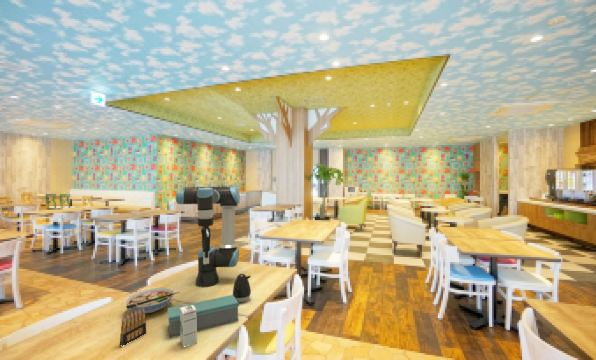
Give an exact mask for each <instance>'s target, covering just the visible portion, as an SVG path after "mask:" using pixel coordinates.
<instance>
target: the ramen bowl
mask: <svg viewBox="0 0 596 360" xmlns="http://www.w3.org/2000/svg"><path fill="white" fill-rule="evenodd" d="M176 294H180V292H179V291H178V292H175V291H174V289H171V288H168V287H167V288H165V287H156V288H149V289H145V290H142V291H139V292H135V293H134V294H132V295H130V296H128V298H127V299H126V300H125V304H126V306H125V308H127V310H129V309H130V310H131V311H133V312H135V311H136V312H137V314H138V311H139V309H140V311H141V314H142V308H144V311H145V314H152V313H155V312H157V311H158V310H162V309H163V308H165V307H166V306H167V305H168V304H170V302H171V300H172V298H173V297H174V295H176Z"/></svg>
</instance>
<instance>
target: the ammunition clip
mask: <svg viewBox="0 0 596 360" xmlns="http://www.w3.org/2000/svg"><path fill="white" fill-rule="evenodd" d="M145 315H146V313H145V311H144V308H142V313H141V311H140V309H139V311H138V313H137V312H136V311H134V314H133V312H131V313H130V316H129V314H127V315H126V318H125V316H122V318H121V327H120V333H119V334H120V337H119V339H120V340H119V346H120V345H122V346H123V345H126V344H127V343H129V342H131V341H133V340H135V339H136V340H138V339H140V338H141V337H140V336H142V335H143V336H145V335H146V334H147V322H146V316H145ZM144 334H145V335H144ZM143 336H142V337H143ZM139 337H140V338H139ZM137 338H138V339H137ZM136 340H135V341H136ZM133 342H134V341H133ZM131 343H132V342H131ZM129 344H130V343H129ZM126 346H127V345H126Z"/></svg>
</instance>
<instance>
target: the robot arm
mask: <svg viewBox="0 0 596 360" xmlns="http://www.w3.org/2000/svg"><path fill="white" fill-rule="evenodd" d="M175 202H176V204H178V205H197V211H196V215H197V226H198V227H201V229H200V232H201V248H202V249H200V250H198V254H197V258H198V259H197V265H198V266H197V270H198V271H197V276H196V278H195V286H196V287H201V288H203V287H204V288H205V287H211V286H212V287H213V286H215V285H217V284H218V283H219V282H220V277H219V273H218V271H217V268H234V267H236V266H237V265H238V262H239V257H240V249H238V247H237V244H236V243H235V234H236V233H235V232H236V230H235V229H236V228H235V227H236V226H235V225H236V224H235V223H236V208H238V205H239V204H240V203H241V195H240V191H239V188H237V187H236V186H235V187H234V186H221V187H220V186H215V187H198V188H197V190H178V191H177V192H175ZM214 205H219V207H220V209H221V211H222V212H221V244H220V246H219V247H218V249H217V247H216V246H211V235H212V234H211V228H210V226H213V225H214Z"/></svg>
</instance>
